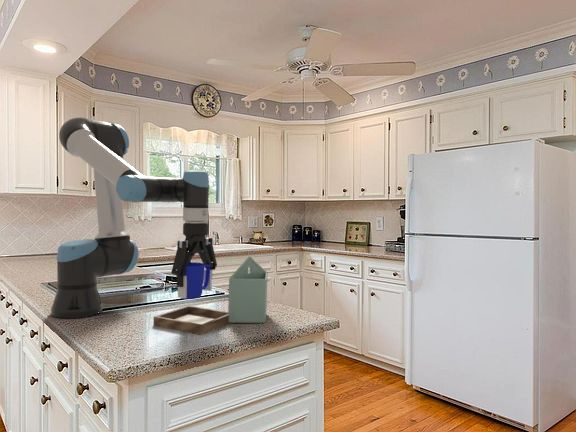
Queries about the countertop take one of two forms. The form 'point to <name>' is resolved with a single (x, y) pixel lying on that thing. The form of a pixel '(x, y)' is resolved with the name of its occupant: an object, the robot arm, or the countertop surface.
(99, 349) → the countertop surface
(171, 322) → the brown wooden tray
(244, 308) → the planter
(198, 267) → the mug
